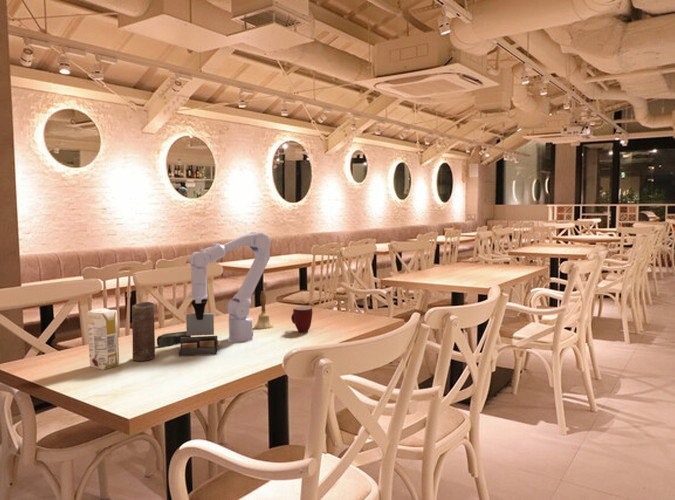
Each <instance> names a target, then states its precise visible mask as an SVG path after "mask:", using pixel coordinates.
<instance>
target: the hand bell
mask: <svg viewBox="0 0 675 500" xmlns="http://www.w3.org/2000/svg"><path fill="white" fill-rule="evenodd" d="M260 292H261V293H260V294H259V295H260V297H259V301H260V304H261V305H260V306H261V312H260V314H258V318H257V322H256V324H254V326H253V327H254V328H255V329H259V330H264V329H265V330H267V328H268V329H272V328H274V325H273V323H272V322H271V319H270V315H269V314H268V313H267V312H266V302H267V296H266V293H265V291H264V290H261V291H260Z"/></svg>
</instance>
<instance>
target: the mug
mask: <svg viewBox="0 0 675 500" xmlns="http://www.w3.org/2000/svg"><path fill="white" fill-rule="evenodd" d="M292 308H293V309H292V310H293V311H292V314H291V321H292V324H294V325H295V328H296V330H297V332H298V333H303V334H304V333H308V332H309V330H310V328H311V325H312V319H313V308H312V306H304V305H303V306H296V307H292Z"/></svg>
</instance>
